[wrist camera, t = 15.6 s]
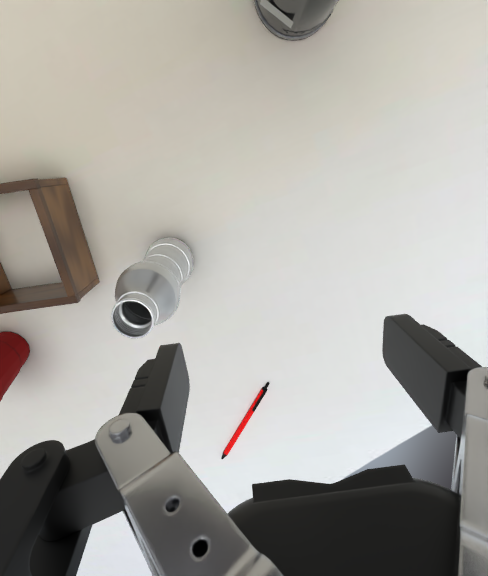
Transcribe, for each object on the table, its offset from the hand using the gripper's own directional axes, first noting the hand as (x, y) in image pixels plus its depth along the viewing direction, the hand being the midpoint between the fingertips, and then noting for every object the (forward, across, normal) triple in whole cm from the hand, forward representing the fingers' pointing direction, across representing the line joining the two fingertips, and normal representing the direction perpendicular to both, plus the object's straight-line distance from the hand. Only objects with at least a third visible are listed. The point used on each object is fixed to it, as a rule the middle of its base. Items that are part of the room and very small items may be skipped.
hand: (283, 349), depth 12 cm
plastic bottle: (+34, +11, +4) cm, 36 cm away
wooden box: (+34, +29, 0) cm, 45 cm away
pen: (+34, +5, +36) cm, 50 cm away
